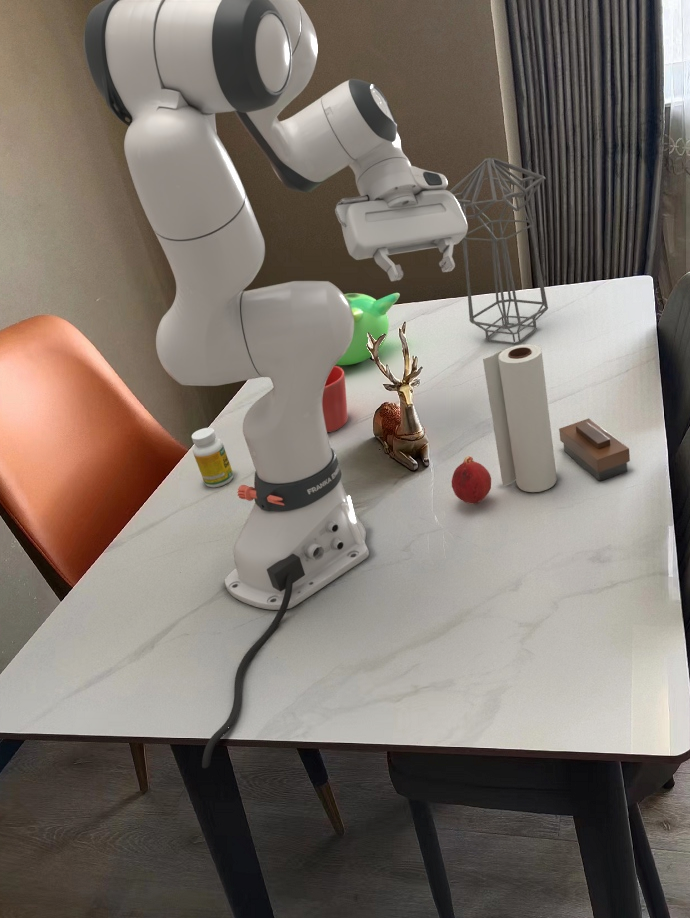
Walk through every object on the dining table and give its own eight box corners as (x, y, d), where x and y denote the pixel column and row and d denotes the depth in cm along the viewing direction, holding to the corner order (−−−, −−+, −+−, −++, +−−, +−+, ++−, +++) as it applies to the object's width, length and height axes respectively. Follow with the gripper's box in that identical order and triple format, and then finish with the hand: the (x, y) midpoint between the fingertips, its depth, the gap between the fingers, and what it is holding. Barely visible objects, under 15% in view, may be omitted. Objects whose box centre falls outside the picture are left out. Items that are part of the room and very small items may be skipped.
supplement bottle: (204, 477, 155) (187, 431, 150) (233, 469, 155) (216, 422, 150) (205, 491, 150) (187, 443, 145) (235, 482, 151) (218, 435, 146)
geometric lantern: (460, 345, 181) (430, 172, 162) (505, 316, 189) (482, 148, 170) (520, 354, 170) (496, 170, 151) (565, 323, 178) (548, 145, 159)
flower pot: (331, 441, 156) (318, 393, 151) (288, 433, 163) (274, 387, 157) (366, 414, 162) (355, 367, 157) (324, 408, 169) (311, 362, 164)
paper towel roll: (564, 477, 130) (550, 345, 118) (542, 497, 127) (525, 363, 115) (525, 467, 135) (508, 339, 123) (502, 486, 131) (482, 357, 120)
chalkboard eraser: (561, 450, 136) (558, 422, 134) (590, 440, 137) (588, 412, 134) (599, 483, 127) (596, 453, 124) (630, 471, 127) (628, 442, 125)
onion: (483, 516, 126) (475, 470, 121) (449, 511, 129) (440, 465, 124) (500, 495, 129) (493, 449, 125) (467, 490, 132) (458, 445, 128)
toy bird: (353, 339, 196) (338, 277, 188) (413, 344, 187) (399, 278, 179) (303, 374, 186) (285, 309, 178) (364, 381, 176) (347, 312, 168)
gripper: (338, 187, 123) (373, 273, 122) (453, 174, 133) (487, 254, 131) (323, 212, 129) (356, 295, 127) (435, 198, 138) (467, 275, 137)
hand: (424, 274), depth 129 cm, fingers open, 8 cm apart
